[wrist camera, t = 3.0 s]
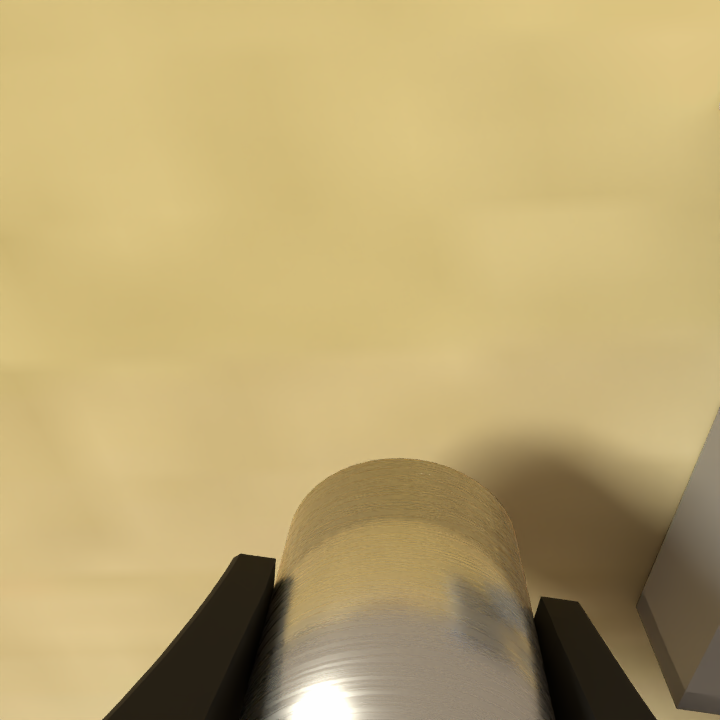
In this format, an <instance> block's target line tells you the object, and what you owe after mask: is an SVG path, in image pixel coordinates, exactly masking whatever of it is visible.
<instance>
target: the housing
mask: <svg viewBox="0 0 720 720" xmlns="http://www.w3.org/2000/svg"><path fill="white" fill-rule="evenodd" d="M636 608H637V611H638V613H639V616H640V618H641V621H642V623H643V626H644V628H645V631H646V633H647V636H648V638H649V641H650V643H651V646H652V648H653V651H654V653H655V656H656V658H657V661H658V663H659V666H660V668H661V671H662V673H663V676H664V678H665V681H666V683H667V686H668V688H669V691H670V694H671V696H672V699H673V701H674V704H675V706H676V709H683V710H690V711H697V712H703V713H710V714H717V715H720V408H719V411H718V413H717V415H716V418H715V420H714V423H713V425H712V427H711V430H710V432H709V434H708V437H707V439H706V442H705V444H704V446H703V449H702V451H701V453H700V456H699V458H698V461H697V463H696V465H695V468H694V470H693V472H692V475H691V477H690V480H689V482H688V484H687V487H686V489H685V491H684V494H683V496H682V499H681V501H680V503H679V506H678V508H677V510H676V513H675V515H674V518H673V520H672V522H671V525H670V527H669V529H668V532H667V534H666V537H665V539H664V541H663V544H662V546H661V548H660V551H659V553H658V556H657V558H656V560H655V563H654V565H653V567H652V570H651V572H650V575H649V577H648V579H647V582H646V584H645V586H644V589H643V591H642V594H641V596H640V598H639V601H638V603H637V605H636Z"/></svg>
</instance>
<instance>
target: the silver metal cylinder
mask: <svg viewBox="0 0 720 720" xmlns="http://www.w3.org/2000/svg"><path fill="white" fill-rule="evenodd" d="M239 720H555V716H554V711H553V707H552V702H551V697H550V692H549V688H548V683H547V678H546V674H545V669H544V664H543V660H542V655H541V650H540V646H539V641H538V636H537V632H536V627H535V622H534V618H533V613H532V608H531V603H530V599H529V594H528V589H527V585H526V580H525V575H524V571H523V566H522V561H521V557H520V552H519V547H518V543H517V538H516V534H515V531H514V528H513V524H512V522H511V520H510V518H509V516H508V514H507V512H506V511H505V509H504V508H503V507H502V505H501V504H500V502H499V501H498V500H497V499H496V498H495V497H494V496H493V495H492V494H491V493H490V492H489V491H488V490H487V489H486V488H484V487H483V486H482V485H481V484H479V483H478V482H477V481H475V480H473V479H472V478H470V477H468V476H467V475H465V474H463V473H461V472H459V471H456V470H454V469H452V468H450V467H446V466H443V465H440V464H437V463H433V462H428V461H423V460H417V459H404V458H395V459H380V460H373V461H368V462H364V463H360V464H356V465H353V466H351V467H348V468H346V469H343V470H341V471H339V472H337V473H335V474H333V475H331V476H330V477H328V478H326V479H325V480H324V481H322V482H321V483H320V484H318V485H317V486H316V487H315V488H314V489H313V490H312V491H311V492H310V493H309V494H308V495H307V496H306V497H305V498H304V500H303V501H302V502H301V504H300V505H299V507H298V509H297V511H296V512H295V514H294V517H293V520H292V523H291V525H290V529H289V533H288V536H287V540H286V544H285V548H284V551H283V555H282V559H281V563H280V567H279V570H278V574H277V578H276V582H275V585H274V589H273V593H272V597H271V601H270V604H269V608H268V612H267V616H266V620H265V623H264V627H263V631H262V635H261V638H260V642H259V646H258V649H257V653H256V657H255V661H254V664H253V668H252V672H251V676H250V680H249V683H248V687H247V691H246V695H245V698H244V702H243V706H242V710H241V713H240V717H239Z"/></svg>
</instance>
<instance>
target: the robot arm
mask: <svg viewBox="0 0 720 720" xmlns="http://www.w3.org/2000/svg"><path fill="white" fill-rule="evenodd" d="M275 563H276V559H274V558H267V557H260V556H253V555H246V554H239V555H238V556H236V557H234V558H233V560H232V561H231V563H230V565H229V566H228V568H227V569H226V571H225V572H224V574H223V575H222V577H221V578H220V580H219V581H218V583H217V584H216V586H215V587H214V588H213V590H212V591H211V593H210V594H209V595H208V597H207V598H206V599H205V601H204V602H203V603H202V605H201V606H200V607H199V609H198V610H197V611H196V613H195V614H194V615H193V617H192V618H191V619H190V620H189V622H188V623H187V624H186V625H185V627H184V628H183V629H182V630H181V631H180V633H179V634H178V635H177V636H176V638H175V639H174V640H173V641H172V643H171V644H170V645H169V646H168V647H167V649H166V650H165V651H164V652H163V654H162V655H161V656H160V657H159V658H158V659H157V661H156V662H155V663H154V664H153V665H152V666H151V667H150V669H149V670H148V671H147V672H146V673H145V674H144V675H143V676H142V677H141V678H140V680H139V681H138V682H137V683H136V684H135V685H134V686H133V687H132V688H131V690H130V691H129V692H128V693H127V694H126V695H125V696H124V697H123V698H122V699H121V701H120V702H119V703H118V704H117V705H116V706H115V707H114V708H113V709H112V710H111V711H110V712H109V713H108V714H107V715H106V716H105V717H104V718H103V719H102V720H239V717H240V713H241V710H242V706H243V702H244V698H245V695H246V691H247V687H248V683H249V680H250V676H251V672H252V668H253V664H254V661H255V657H256V653H257V649H258V646H259V642H260V638H261V635H262V631H263V627H264V623H265V620H266V616H267V612H268V608H269V604H270V601H271V597H272V593H273V589H274V578H275ZM534 622H535V627H536V632H537V636H538V641H539V646H540V650H541V655H542V660H543V664H544V669H545V674H546V678H547V683H548V688H549V692H550V697H551V702H552V707H553V711H554V716H555V720H657V719H656V718H655V716H654V715H653V714H652V712H651V711H650V709H649V708H648V706H647V705H646V704H645V702H644V701H643V699H642V698H641V696H640V695H639V694H638V692H637V691H636V689H635V688H634V686H633V685H632V683H631V682H630V680H629V679H628V677H627V676H626V674H625V673H624V671H623V670H622V668H621V667H620V665H619V664H618V662H617V661H616V659H615V658H614V656H613V655H612V653H611V651H610V650H609V648H608V647H607V645H606V644H605V642H604V641H603V639H602V638H601V636H600V634H599V633H598V631H597V630H596V628H595V627H594V625H593V624H592V622H591V621H590V619H589V617H588V616H587V614H586V613H585V611H584V610H583V608H582V607H581V605H580V604H579V603H578V602H576V601H569V600H562V599H555V598H548V597H541V599H540V602H539V605H538V608H537V611H536V614H535V617H534Z"/></svg>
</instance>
